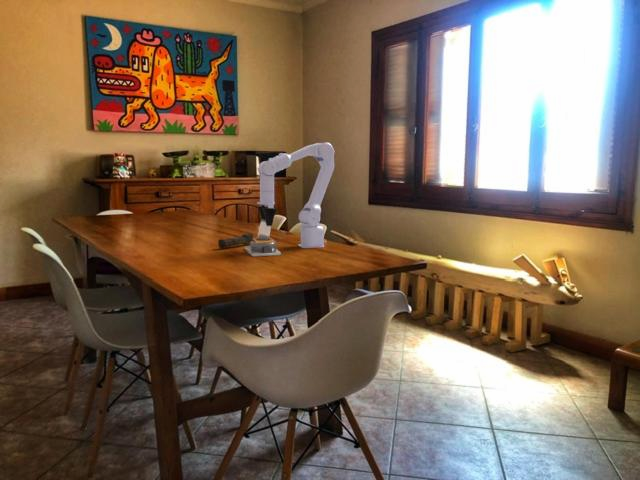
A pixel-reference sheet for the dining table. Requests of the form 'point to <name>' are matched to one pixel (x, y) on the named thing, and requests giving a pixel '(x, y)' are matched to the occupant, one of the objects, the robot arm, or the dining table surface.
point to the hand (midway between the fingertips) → (267, 224)
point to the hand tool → (236, 241)
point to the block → (264, 231)
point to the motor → (262, 247)
